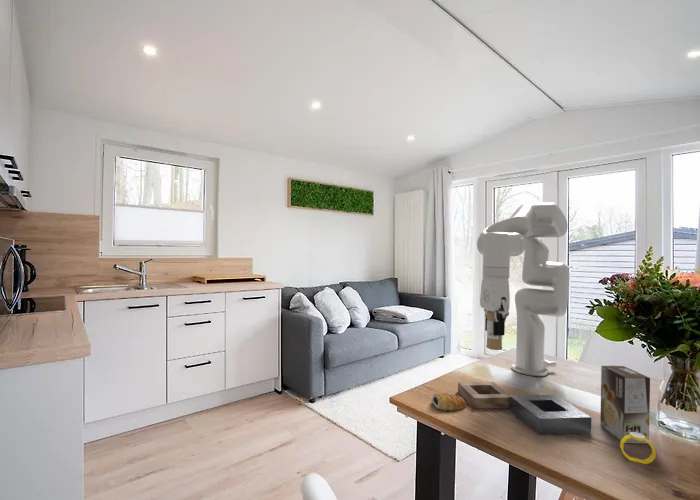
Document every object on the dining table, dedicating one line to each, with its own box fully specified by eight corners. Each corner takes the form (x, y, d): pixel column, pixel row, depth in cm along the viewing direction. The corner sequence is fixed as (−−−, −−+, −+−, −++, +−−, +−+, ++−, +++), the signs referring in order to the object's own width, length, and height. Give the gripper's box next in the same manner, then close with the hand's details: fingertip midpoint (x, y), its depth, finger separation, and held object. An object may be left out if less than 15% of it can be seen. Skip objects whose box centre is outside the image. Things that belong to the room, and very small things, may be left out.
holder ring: (493, 390, 116) (493, 381, 116) (513, 407, 104) (514, 397, 104) (457, 391, 115) (458, 382, 115) (474, 408, 103) (474, 398, 103)
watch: (622, 461, 79) (620, 434, 79) (620, 455, 81) (618, 429, 82) (657, 468, 76) (655, 440, 76) (653, 461, 79) (651, 434, 79)
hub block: (554, 408, 105) (554, 394, 105) (591, 432, 91) (591, 417, 91) (509, 409, 103) (509, 395, 103) (539, 434, 89) (539, 418, 89)
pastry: (459, 401, 109) (459, 388, 109) (470, 411, 102) (470, 398, 102) (430, 402, 107) (430, 390, 107) (438, 413, 101) (439, 399, 101)
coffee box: (650, 444, 86) (652, 378, 86) (623, 443, 86) (625, 377, 86) (622, 425, 95) (624, 365, 95) (598, 424, 95) (599, 364, 95)
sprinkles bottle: (505, 349, 107) (506, 304, 107) (495, 351, 105) (496, 305, 105) (492, 345, 111) (493, 302, 111) (482, 347, 109) (483, 303, 109)
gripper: (472, 270, 116) (470, 326, 116) (497, 275, 99) (496, 340, 99) (494, 271, 116) (493, 326, 117) (523, 275, 100) (521, 340, 100)
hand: (494, 332), depth 108 cm, fingers closed on sprinkles bottle, 4 cm apart
